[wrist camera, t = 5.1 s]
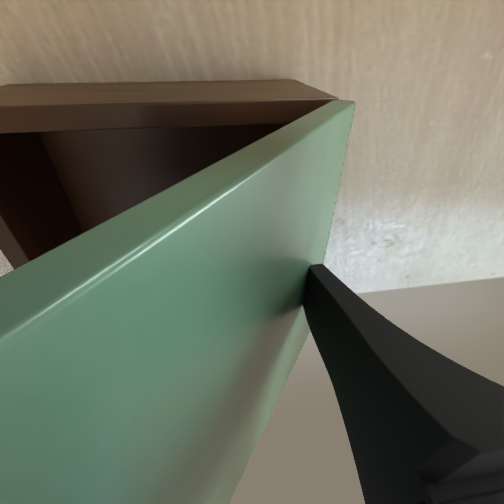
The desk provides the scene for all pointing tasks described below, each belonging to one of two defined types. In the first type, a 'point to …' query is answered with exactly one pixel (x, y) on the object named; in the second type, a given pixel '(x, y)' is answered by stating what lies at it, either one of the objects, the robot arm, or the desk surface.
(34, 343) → the lid
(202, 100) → the sweet box
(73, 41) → the desk surface
